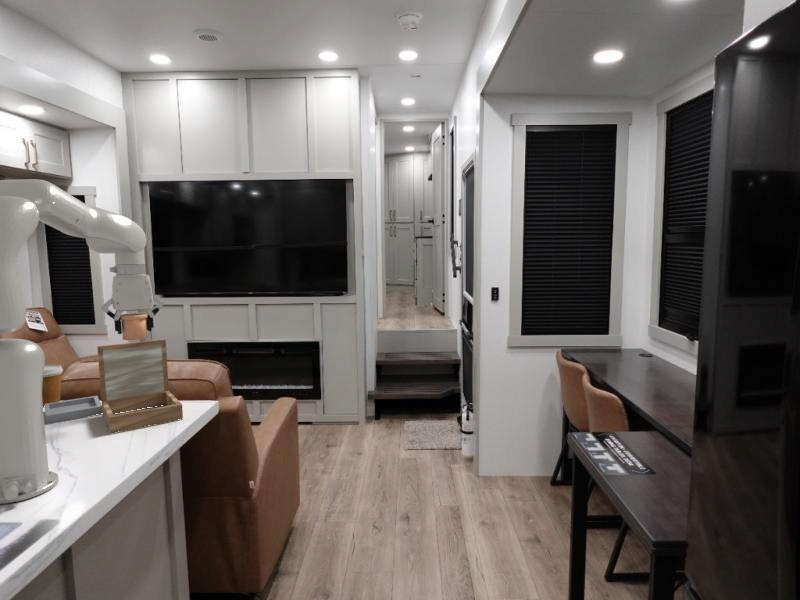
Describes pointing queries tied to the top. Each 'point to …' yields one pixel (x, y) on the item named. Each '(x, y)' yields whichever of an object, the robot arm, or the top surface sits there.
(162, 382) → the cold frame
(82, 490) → the top surface
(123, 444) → the top surface
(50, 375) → the disposable coffee cup
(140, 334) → the terracotta pot
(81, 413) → the slate tray
